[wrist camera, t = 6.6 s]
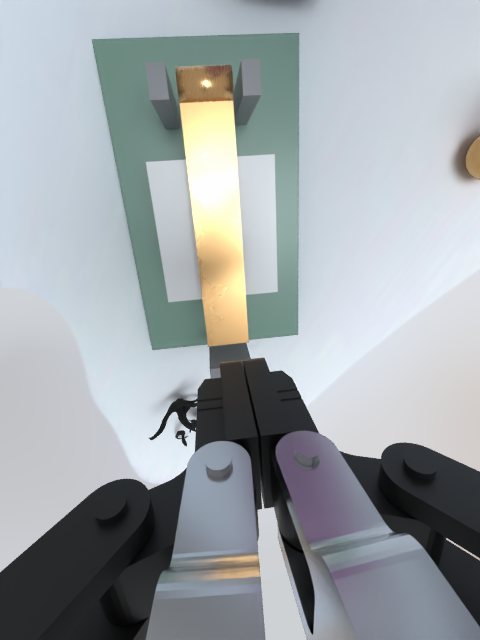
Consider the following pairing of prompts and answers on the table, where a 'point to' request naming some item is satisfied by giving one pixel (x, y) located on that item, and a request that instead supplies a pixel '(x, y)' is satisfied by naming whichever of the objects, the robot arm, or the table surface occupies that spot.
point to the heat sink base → (164, 141)
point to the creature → (179, 417)
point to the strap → (215, 197)
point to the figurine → (474, 159)
